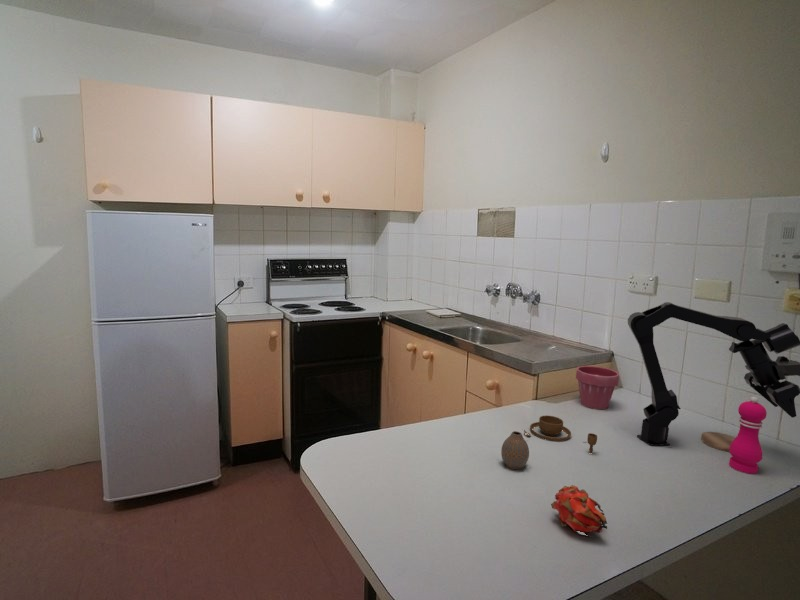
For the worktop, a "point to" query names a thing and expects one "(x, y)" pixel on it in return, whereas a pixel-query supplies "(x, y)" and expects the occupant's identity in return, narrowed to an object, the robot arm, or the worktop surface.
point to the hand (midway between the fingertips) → (785, 411)
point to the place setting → (556, 430)
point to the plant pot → (596, 385)
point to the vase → (515, 451)
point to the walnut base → (717, 440)
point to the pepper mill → (748, 437)
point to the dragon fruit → (579, 510)
